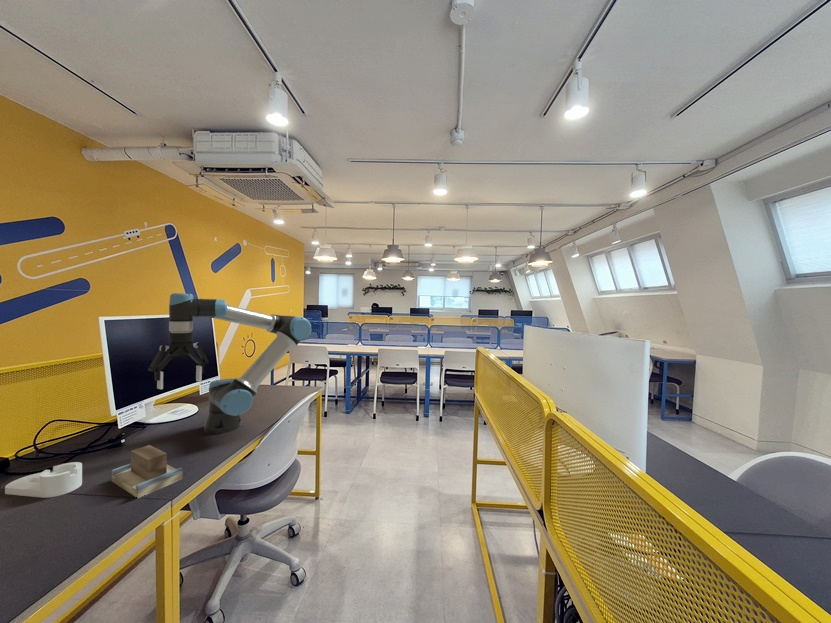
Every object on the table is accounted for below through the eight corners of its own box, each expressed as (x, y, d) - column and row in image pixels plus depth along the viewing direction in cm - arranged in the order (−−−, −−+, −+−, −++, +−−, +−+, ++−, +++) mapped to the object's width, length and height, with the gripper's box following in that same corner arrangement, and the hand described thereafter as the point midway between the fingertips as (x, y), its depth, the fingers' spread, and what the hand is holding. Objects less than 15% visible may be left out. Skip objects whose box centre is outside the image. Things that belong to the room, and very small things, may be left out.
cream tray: (155, 465, 112) (155, 454, 112) (182, 479, 104) (182, 468, 104) (111, 481, 102) (111, 469, 102) (137, 498, 93) (137, 486, 93)
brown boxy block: (149, 464, 108) (149, 444, 108) (166, 474, 103) (166, 453, 102) (131, 471, 104) (131, 450, 104) (148, 481, 98) (148, 459, 98)
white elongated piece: (89, 483, 101) (90, 463, 101) (56, 499, 92) (56, 477, 92) (36, 478, 103) (36, 458, 103) (-2, 494, 94) (-2, 472, 94)
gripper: (208, 329, 135) (207, 377, 136) (137, 333, 113) (136, 390, 114) (218, 330, 132) (218, 379, 132) (146, 334, 110) (146, 393, 110)
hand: (180, 384), depth 123 cm, fingers open, 13 cm apart
